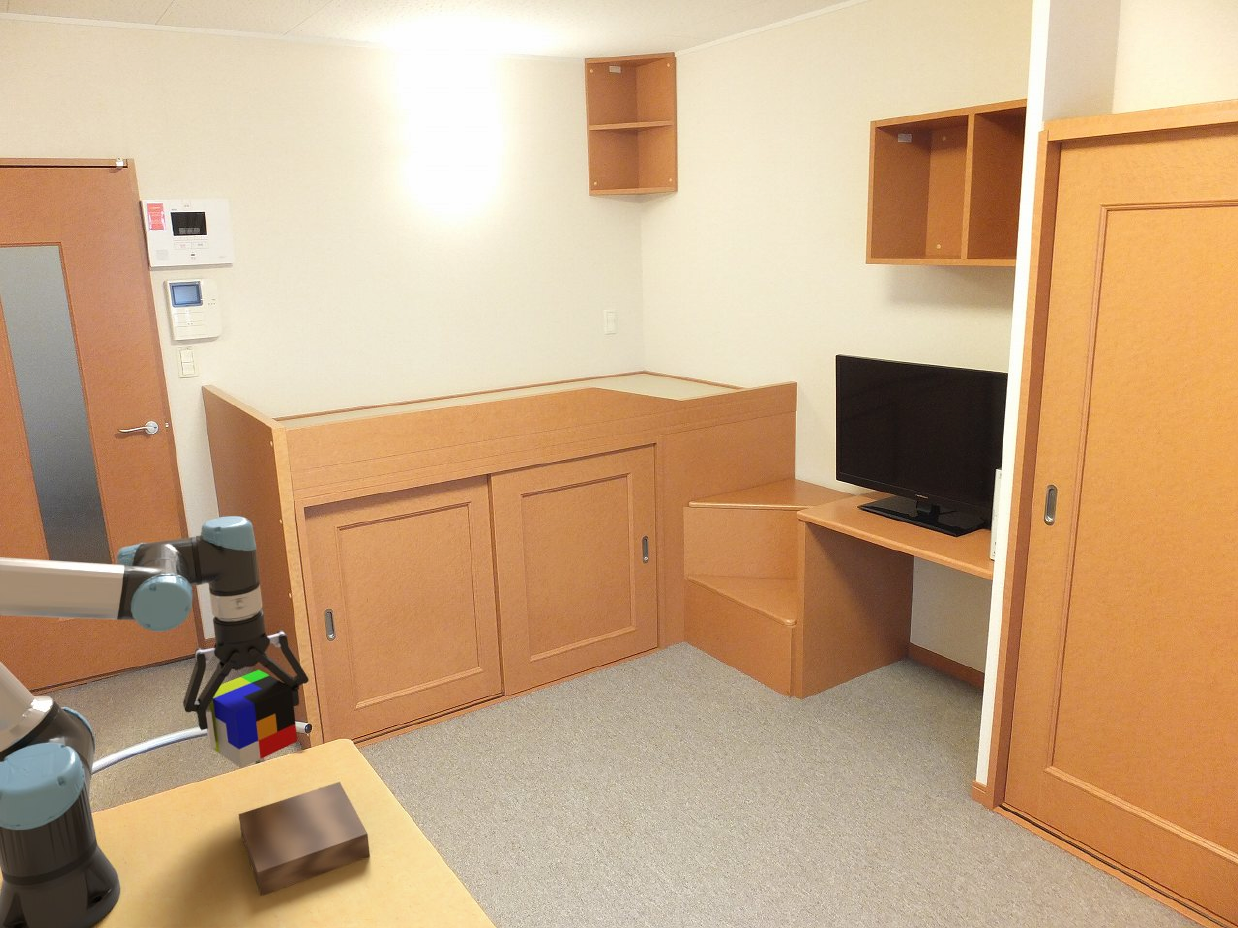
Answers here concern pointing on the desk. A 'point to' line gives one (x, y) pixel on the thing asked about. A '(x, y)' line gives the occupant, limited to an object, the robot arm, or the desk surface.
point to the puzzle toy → (252, 718)
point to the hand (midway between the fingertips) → (252, 733)
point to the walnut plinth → (302, 837)
